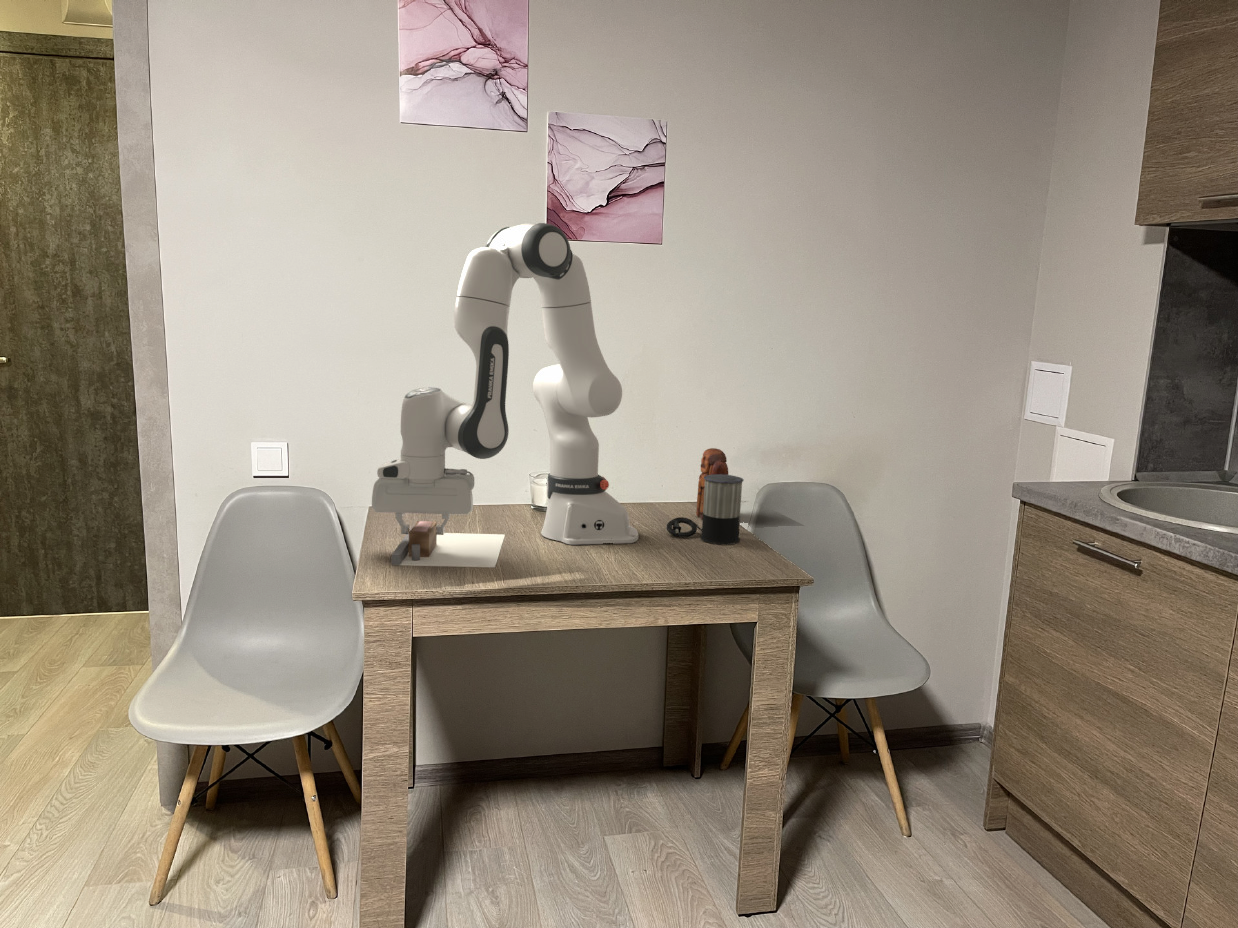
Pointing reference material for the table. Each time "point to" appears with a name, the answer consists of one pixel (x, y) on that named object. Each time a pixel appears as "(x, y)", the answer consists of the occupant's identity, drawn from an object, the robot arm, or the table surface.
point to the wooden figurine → (709, 473)
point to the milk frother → (716, 511)
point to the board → (453, 551)
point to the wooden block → (423, 537)
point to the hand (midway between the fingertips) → (422, 533)
